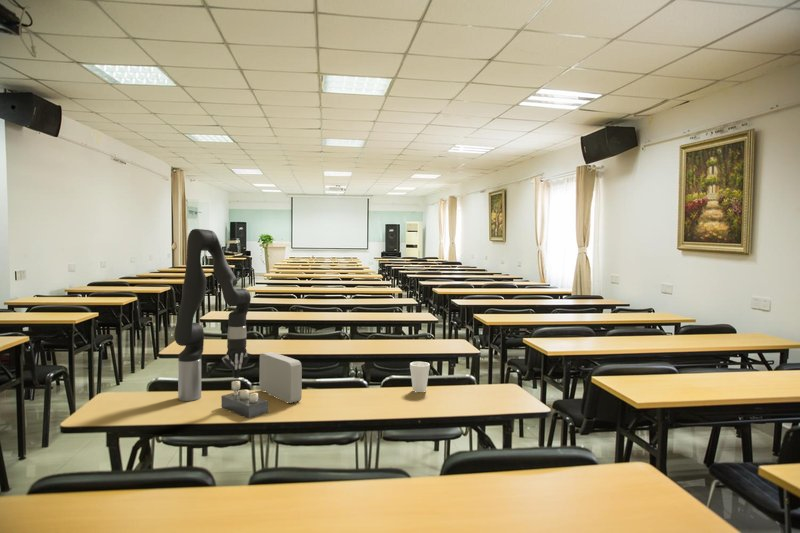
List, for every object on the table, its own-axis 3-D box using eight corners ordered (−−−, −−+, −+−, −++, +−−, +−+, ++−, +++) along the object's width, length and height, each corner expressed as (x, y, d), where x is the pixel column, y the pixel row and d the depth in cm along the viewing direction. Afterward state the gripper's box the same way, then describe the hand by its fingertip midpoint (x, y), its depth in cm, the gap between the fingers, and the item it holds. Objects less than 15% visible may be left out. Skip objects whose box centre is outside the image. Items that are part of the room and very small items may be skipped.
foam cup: (410, 387, 226) (411, 361, 225) (429, 388, 225) (430, 361, 224) (409, 393, 216) (409, 365, 216) (428, 394, 215) (429, 366, 215)
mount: (221, 407, 193) (221, 395, 193) (240, 402, 200) (240, 390, 200) (248, 418, 181) (248, 406, 181) (268, 412, 188) (268, 400, 188)
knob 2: (238, 409, 190) (238, 390, 190) (245, 407, 193) (245, 388, 193) (243, 410, 188) (243, 392, 188) (250, 408, 191) (250, 390, 190)
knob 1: (230, 399, 194) (230, 381, 194) (237, 397, 197) (237, 380, 197) (234, 401, 192) (234, 383, 192) (241, 399, 195) (241, 381, 195)
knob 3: (247, 412, 186) (247, 393, 186) (254, 410, 189) (254, 391, 189) (252, 414, 184) (252, 395, 184) (259, 412, 187) (259, 393, 186)
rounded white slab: (306, 401, 203) (306, 360, 203) (290, 405, 198) (291, 363, 197) (274, 387, 224) (274, 350, 223) (259, 390, 218) (259, 352, 218)
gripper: (246, 333, 200) (245, 373, 201) (217, 337, 190) (216, 379, 191) (256, 335, 196) (255, 376, 196) (227, 339, 186) (226, 382, 186)
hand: (236, 377), depth 194 cm, fingers closed
